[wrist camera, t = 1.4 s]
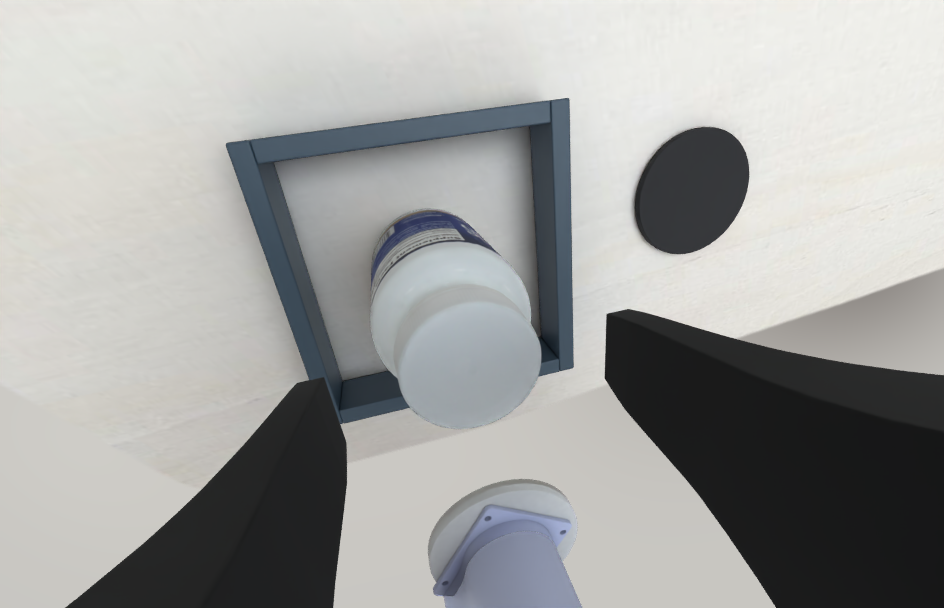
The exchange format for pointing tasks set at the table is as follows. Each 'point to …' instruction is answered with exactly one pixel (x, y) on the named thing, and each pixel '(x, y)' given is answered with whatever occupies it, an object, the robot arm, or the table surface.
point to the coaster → (692, 190)
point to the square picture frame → (259, 154)
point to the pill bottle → (451, 321)
